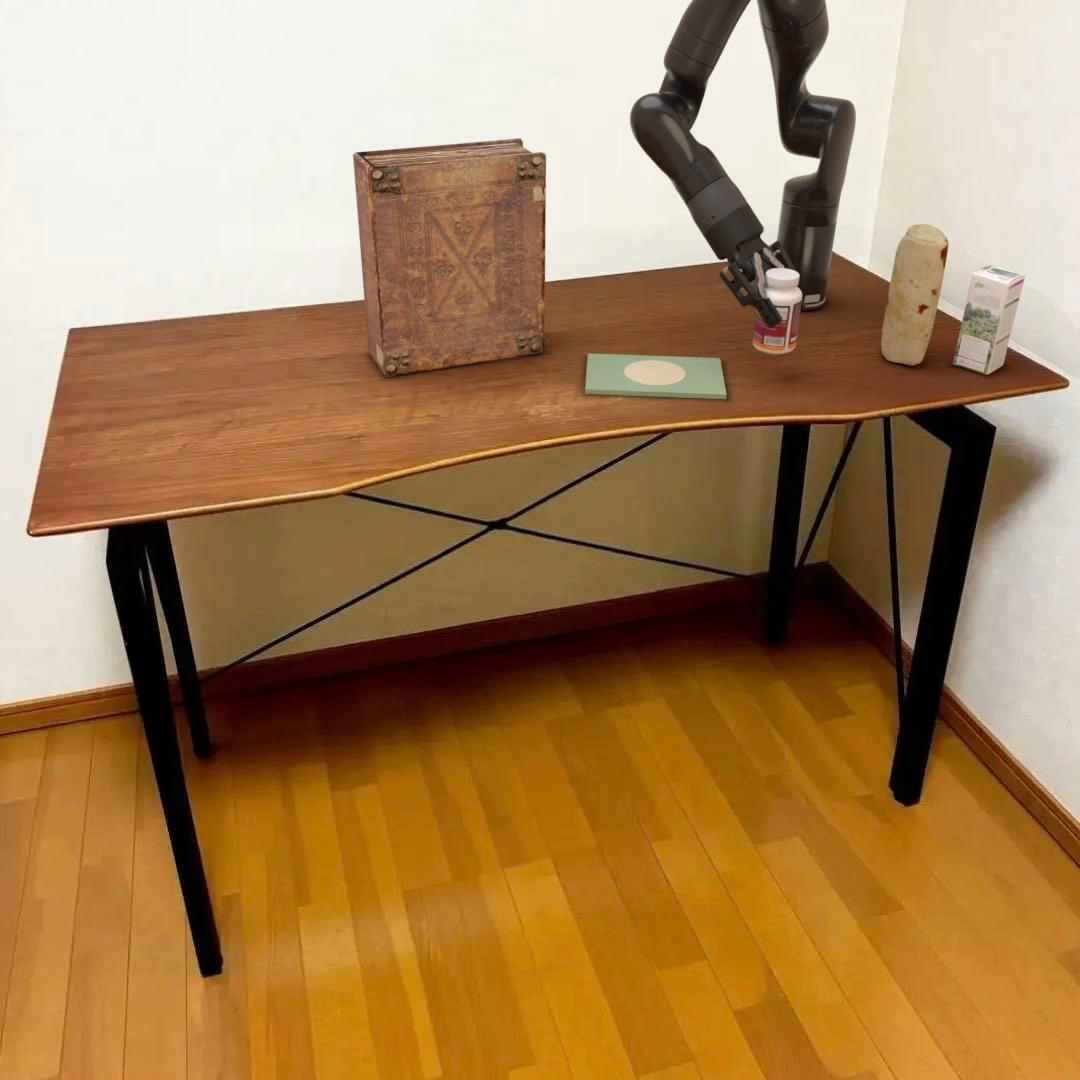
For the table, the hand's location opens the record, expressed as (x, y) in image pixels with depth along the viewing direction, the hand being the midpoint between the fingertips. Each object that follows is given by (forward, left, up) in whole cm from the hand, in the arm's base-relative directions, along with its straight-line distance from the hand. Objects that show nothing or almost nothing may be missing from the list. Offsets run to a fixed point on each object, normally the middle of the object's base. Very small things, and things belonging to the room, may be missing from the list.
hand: (788, 317), depth 158 cm
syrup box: (-9, +31, -10) cm, 34 cm away
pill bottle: (-1, -1, -5) cm, 5 cm away
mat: (0, -18, -10) cm, 21 cm away
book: (-6, -48, -10) cm, 50 cm away
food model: (-11, +20, -10) cm, 25 cm away
